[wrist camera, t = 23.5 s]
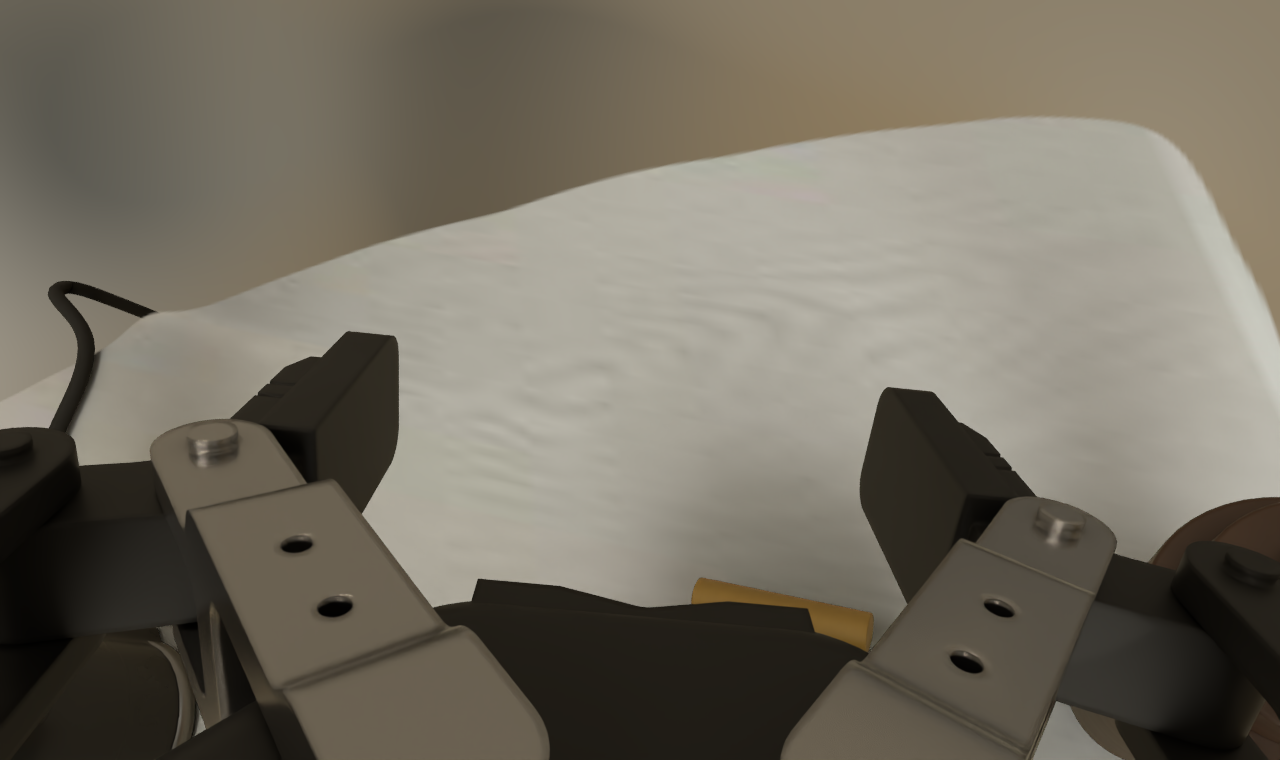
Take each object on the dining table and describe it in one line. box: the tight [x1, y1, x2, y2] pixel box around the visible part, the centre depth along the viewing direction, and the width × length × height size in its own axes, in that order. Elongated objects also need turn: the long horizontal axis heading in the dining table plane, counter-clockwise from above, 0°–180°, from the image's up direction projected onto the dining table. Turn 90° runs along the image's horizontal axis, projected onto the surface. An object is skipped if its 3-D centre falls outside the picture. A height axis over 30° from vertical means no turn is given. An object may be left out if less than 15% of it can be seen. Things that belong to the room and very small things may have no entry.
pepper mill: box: [1071, 497, 1280, 760], centre depth 20 cm, size 5×5×22 cm
